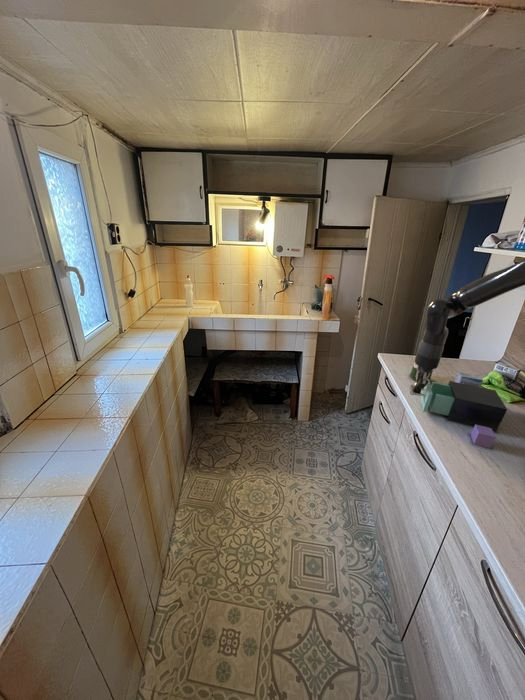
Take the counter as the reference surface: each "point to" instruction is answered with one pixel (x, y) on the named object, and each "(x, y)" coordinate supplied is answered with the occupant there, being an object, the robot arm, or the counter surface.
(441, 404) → the drawer
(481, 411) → the drawer cabinet
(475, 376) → the medicine box
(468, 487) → the counter surface
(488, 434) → the purple cube
